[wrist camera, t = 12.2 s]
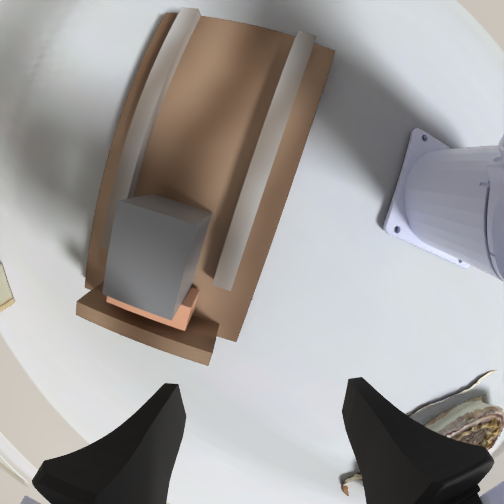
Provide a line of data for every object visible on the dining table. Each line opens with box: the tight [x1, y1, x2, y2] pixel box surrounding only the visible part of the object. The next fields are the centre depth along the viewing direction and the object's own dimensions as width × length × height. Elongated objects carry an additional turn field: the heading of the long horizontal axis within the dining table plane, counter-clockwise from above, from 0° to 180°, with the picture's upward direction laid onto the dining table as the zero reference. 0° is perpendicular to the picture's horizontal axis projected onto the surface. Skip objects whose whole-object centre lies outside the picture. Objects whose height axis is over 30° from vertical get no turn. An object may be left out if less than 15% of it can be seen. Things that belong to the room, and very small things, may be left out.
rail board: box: [76, 7, 335, 366], centre depth 15 cm, size 12×21×5 cm, turn 162°
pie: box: [342, 371, 504, 496], centre depth 24 cm, size 28×27×5 cm
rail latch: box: [106, 287, 200, 331], centre depth 17 cm, size 5×2×3 cm, turn 72°
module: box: [103, 194, 213, 320], centre depth 15 cm, size 4×5×5 cm
